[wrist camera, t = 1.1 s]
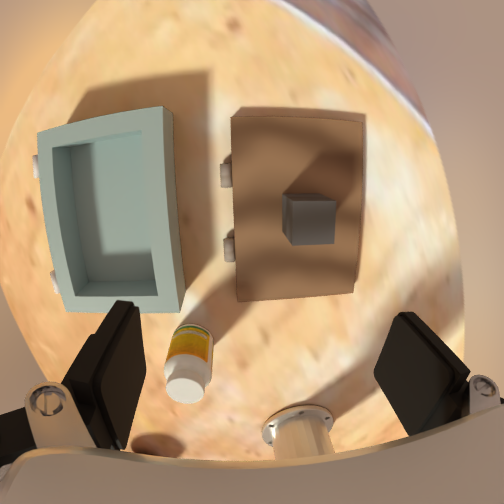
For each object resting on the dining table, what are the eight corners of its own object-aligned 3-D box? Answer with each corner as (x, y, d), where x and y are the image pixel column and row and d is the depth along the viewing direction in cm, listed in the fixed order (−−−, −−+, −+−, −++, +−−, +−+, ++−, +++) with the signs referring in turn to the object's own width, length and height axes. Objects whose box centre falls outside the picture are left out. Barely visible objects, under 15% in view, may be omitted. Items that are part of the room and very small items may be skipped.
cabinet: (185, 291, 33) (179, 312, 29) (75, 292, 32) (58, 311, 28) (172, 113, 27) (162, 105, 22) (53, 135, 26) (29, 135, 21)
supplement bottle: (220, 348, 36) (219, 402, 27) (184, 359, 37) (175, 412, 28) (202, 316, 35) (196, 368, 26) (165, 329, 35) (149, 380, 26)
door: (348, 287, 35) (370, 313, 29) (227, 296, 34) (227, 326, 28) (356, 123, 29) (384, 118, 23) (218, 119, 28) (216, 109, 22)
